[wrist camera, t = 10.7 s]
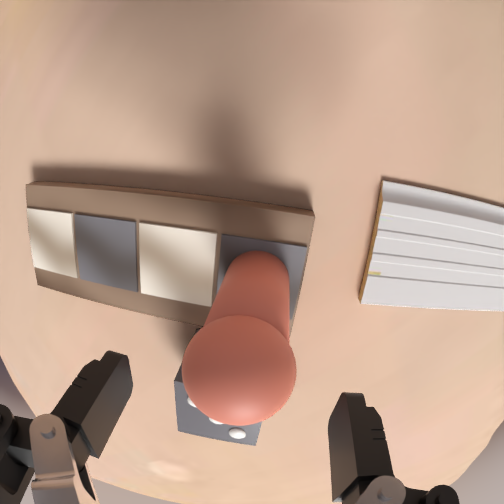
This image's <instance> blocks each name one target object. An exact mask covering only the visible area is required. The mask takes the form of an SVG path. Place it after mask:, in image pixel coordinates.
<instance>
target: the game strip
mask: <svg viewBox="0 0 504 504" xmlns="http://www.w3.org/2000/svg"><path fill="white" fill-rule="evenodd" d="M26 200H27V219H28V229H29V237H30V245H31V252H32V258H33V264H34V267H35V273H36V278H37V283H38V285H40V286H43V287H46V288H50V289H53V290H56V291H60V292H63V293H66V294H70V295H73V296H77V297H80V298H84V299H88V300H91V301H95V302H99V303H103V304H106V305H110V306H114V307H118V308H122V309H126V310H130V311H135V312H139V313H143V314H147V315H152V316H156V317H161V318H165V319H170V320H175V321H180V322H185V323H190V324H195V325H200V326H204V324H205V322H206V319H207V317H208V314H209V312H210V310H211V307H212V305H213V303H214V300H215V298H216V295H217V293H218V291H219V288H220V286H221V284H222V281H223V279H224V277H225V274H226V272H227V270H228V267H229V265H230V264H231V262H232V261H233V260H234V259H235V258H236V257H237V256H239V255H241V254H243V253H245V252H248V251H265V252H268V253H271V254H273V255H275V256H276V257H278V258H279V259H280V260H281V261H282V262H283V263H284V265H285V266H286V268H287V270H288V273H289V338H290V334H291V330H292V326H293V321H294V317H295V313H296V308H297V304H298V299H299V295H300V290H301V285H302V281H303V276H304V271H305V266H306V261H307V256H308V251H309V246H310V241H311V236H312V231H313V225H314V220H315V215H314V212H313V211H311V210H305V209H299V208H293V207H286V206H280V205H273V204H266V203H259V202H252V201H245V200H237V199H230V198H222V197H214V196H206V195H198V194H189V193H180V192H171V191H162V190H152V189H141V188H130V187H119V186H107V185H94V184H79V183H64V182H45V181H36V182H33V183H30V184H26Z"/></svg>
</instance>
